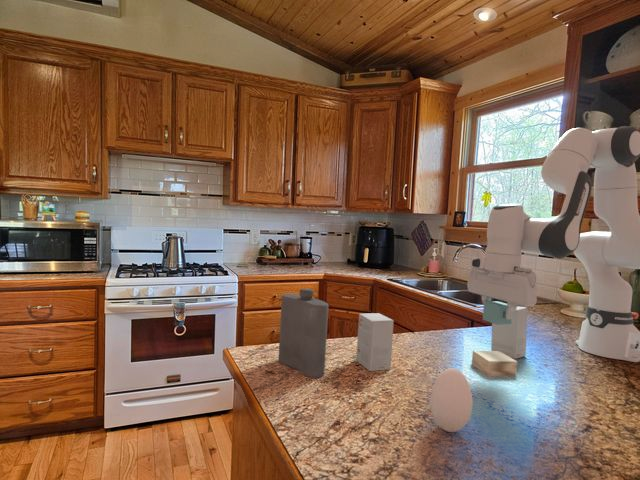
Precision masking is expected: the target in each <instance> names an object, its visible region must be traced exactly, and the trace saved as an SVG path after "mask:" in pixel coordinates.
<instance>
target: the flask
mask: <svg viewBox="0 0 640 480" xmlns="http://www.w3.org/2000/svg"><path fill="white" fill-rule="evenodd" d="M314 293H315V290H313V289H312V288H309V287H308V288H307V287H306V288H301V289H300V290H299V294H295V293H286V294H283V295H282V296H281V307H280V308H281V309H280V323H279V345H278V347H279V348H278V358H277V359H278V362H279V364H281V365H284V366H287V367H289V368H292V369H295V370H297V371H298V372H301V374H303V375H305V376H306V377H308V378H311V379H319V378H323V376H324V375H325V371H326V370H325V367H326V352H327V351H326V350H327V337H328V321H329V304H328V303H327V302H325V301H324V300H320V299H318V298H314V295H315V294H314Z"/></svg>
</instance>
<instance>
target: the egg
mask: <svg viewBox="0 0 640 480" xmlns="http://www.w3.org/2000/svg"><path fill="white" fill-rule="evenodd" d="M429 402H430V403H429V404H430V410H431V414H432V416H433V420H435V422H436V423H437V425H438V426H439V427H440V428H441V429H442V430H444V431H445V432H449V433H455V432H458V431H459V430H461V429H463V428H464V427H465V426H466V425H467V423H468V422H469V420H470V418H471V416H472V411H473V394H472V390H471V387H470V384H469V381H468V379H467V377H466V375H464V374H463V372H462V371H460V370H459V369H457V368H454V367H449V368H447V369H444V370H443V371H441V373H440V374H439V375H438V377H437V378H436V379H435V381H434V383H433V386H432V388H431V394H430V401H429Z"/></svg>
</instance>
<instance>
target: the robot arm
mask: <svg viewBox="0 0 640 480" xmlns="http://www.w3.org/2000/svg"><path fill="white" fill-rule="evenodd" d="M639 158H640V130H639V129H638V128H637V127H636V126H629V125H628V126H626V125H624V126H619V127H612V128H610V127H609V128H601V129H596V130H595V131H594V130H593V131H592V130H590V129H588V128H584V127H576V128H571V129H569V130H567V131H566V132H565V133H563V135H562V136H561V137H560V138H559V140H557V142H556V143H555V145H554V146H553V147H552V149H551V150H550V151H549V153H548V154H547V156H546V158H545V160H544V162H543V164H542V166H541V172H540V174H541V178H542V180H543V183H544V184H546V186H548V187H549V188H550V189H551V190H552V191H554V192H557V193H561V194H564V195H565V198H564V200H563V204H562V207H561V210H560V213H559V214H558V215H557V216H555V217H552V218H535V217H532V216H530V215H528V214H527V213H526V212H524V205H522V204H520V203H502V204H497V205H495V206H493V207H492V208H491V210H490V212H489V216H488V221H487V227H486V228H487V229H486V238H487V239H486V240H487V245H486V248H485V252H484V255H483V256H479V257H475V258H472V259H470V261H469V267H471V268H470V269H469V270H468V274H467V275H468V276H467V290H468V292H470V293H472V294H475V295H476V294H477V295H480V296H481V301H482V304H483V305H484V302H491V300H492V299H496V300H499V301H501V302H503V301H504V302H506V304H507V306H509V307H508V309H507V311H504V312H503V318H505V319H512V314H513V312H514V311H515V309H516V308H517V306H520V307H534V306H535V305H536V304H537V300H538V292H537V291H538V289H537V274H536V273H535V272H534V271H533V270H532V269H531V268H525V267H521V265H522V255H523V254H522V253H525V254H531V255H540V256H545V257H549V258H550V257H551V258H554V259H559V260H560V259H565V258H566V257H569V256H570V255H571V254H573V255H574V256H575V257H576V258H577V259H578V260H579V261H580V262H581V264H582V265H583V266H584V269H585V271H586V273H587V274H586V275H587V276H588V282H589V283H588V284H589V294H588V296H589V297H588V305H587V306H586V309H585V317H586V318H585V319H584V320H583V321H582V323H581V326H580V332H579V337H578V339H576V340H575V341H574V342H575V344H576V345H577V347H578V349H580V350H582V351H583V352H586V353H588V354H592V355H595V356H598V357H602V358H608V359H614V360H621V361H627V362H633V363H639V362H640V330H639V329H638V328H637V327H636V326H635V325H634V319H635V320H637V319H639V313H638V312H633V311H631V310H632V303H633V302H632V301H633V293H634V292H633V288H632V286H631V284H630V283H629V282H628V281H627V280H625V279H624V278H623V277H622V276H621V274H620V272H619V270H618V268H624V269H625V268H626V269H632V270H640V213H639V205H638V204H639V203H638V202H639V201H638V177H637V176H638V175H637V169H636V164H635V162H637V160H639ZM590 169H595V170H594V178H593V180H592V177H591V176H590V175H589V173H588V171H589V170H590ZM592 187H593V189H594V190H593V212H594V214H595V216H596V217H597V218H598V219H600V220H602V221H604V222H605V224H606V225H607V227H608V228H609V231H604V230H594V231H593V230H591V231H587V232H581V229H582V224H583V221H584V218H585V214H586V211H587V209H588V204H589V201H590V198H591V193H592Z"/></svg>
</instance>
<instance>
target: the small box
mask: <svg viewBox="0 0 640 480" xmlns="http://www.w3.org/2000/svg"><path fill="white" fill-rule="evenodd" d="M394 322H395V321H394V319H392V318H389V317H388V316H385V315H384V314H381V313H379V312H377V313H373V312H371V313H369V312H368V313H359V314H358V328H357V329H358V330H357V342H356V343H357V344H356V356H355V360H356V362H358V363H359V364H360V365H361V366H363V367H364V368H365V369H366V370H367V371H369V372H375V371H386V370H391V369H392V368H391V367H392V366H391V365H392V354H393V353H392V351H393V350H392V349H393V339H394V338H393V335H394V334H393V333H394V324H395V323H394Z"/></svg>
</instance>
